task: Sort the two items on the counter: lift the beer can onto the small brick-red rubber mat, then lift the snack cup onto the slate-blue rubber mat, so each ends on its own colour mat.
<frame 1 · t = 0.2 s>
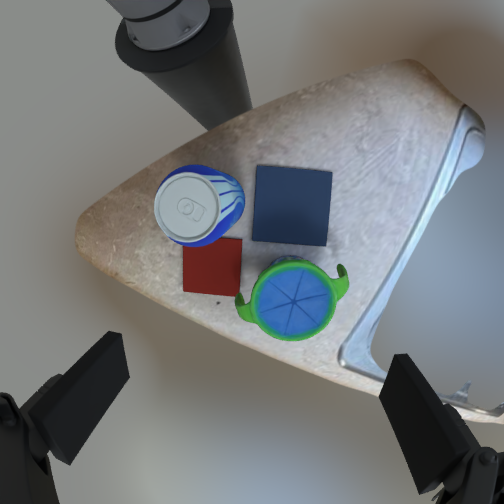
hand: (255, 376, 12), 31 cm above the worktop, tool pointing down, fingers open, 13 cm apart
red mat: (211, 265, 43), on the worktop
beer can: (217, 200, 41), on the worktop
snack cup: (289, 277, 43), on the worktop
blue mat: (292, 205, 40), on the worktop
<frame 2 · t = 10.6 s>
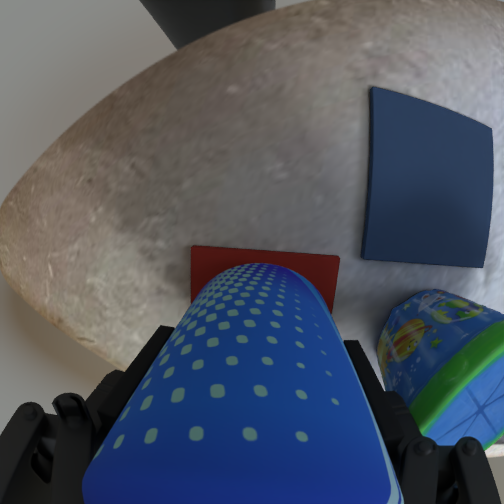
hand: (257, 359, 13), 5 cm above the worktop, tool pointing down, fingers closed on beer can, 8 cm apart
red mat: (260, 317, 18), on the worktop
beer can: (260, 320, 17), resting on red mat, touching gripper
snack cup: (416, 331, 18), on the worktop
blue mat: (438, 183, 15), on the worktop
when the fingers open (5 cm above the worktop, at t = 11.7 s): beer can stays where it is, resting on red mat.
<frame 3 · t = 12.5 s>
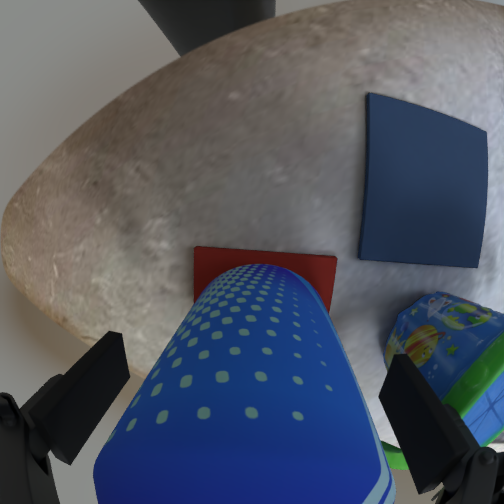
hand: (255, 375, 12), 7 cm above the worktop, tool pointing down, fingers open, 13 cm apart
red mat: (261, 315, 19), on the worktop
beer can: (260, 319, 18), resting on red mat
snack cup: (418, 333, 18), on the worktop
blue mat: (433, 186, 16), on the worktop
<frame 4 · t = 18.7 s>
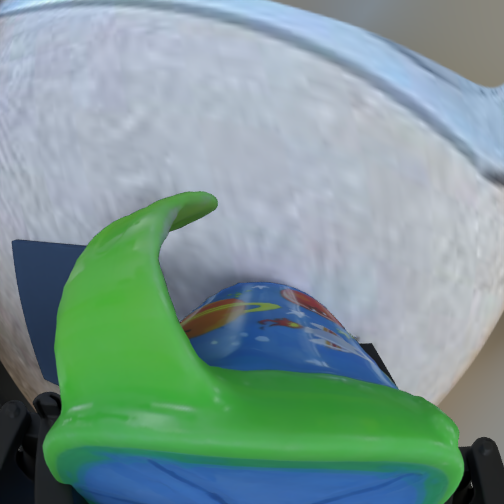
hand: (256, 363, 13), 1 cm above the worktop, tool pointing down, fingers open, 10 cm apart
snack cup: (262, 345, 14), on the worktop, touching gripper
blue mat: (82, 331, 14), on the worktop
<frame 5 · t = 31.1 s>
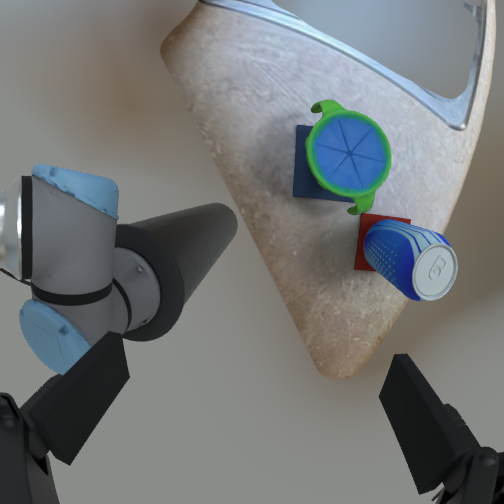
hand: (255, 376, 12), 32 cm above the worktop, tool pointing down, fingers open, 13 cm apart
red mat: (382, 243, 41), on the worktop
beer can: (384, 244, 41), resting on red mat
snack cup: (332, 161, 39), resting on blue mat
blue mat: (330, 163, 39), on the worktop
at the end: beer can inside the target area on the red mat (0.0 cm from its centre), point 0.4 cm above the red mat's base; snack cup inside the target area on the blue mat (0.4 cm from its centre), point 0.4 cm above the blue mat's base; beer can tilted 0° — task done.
